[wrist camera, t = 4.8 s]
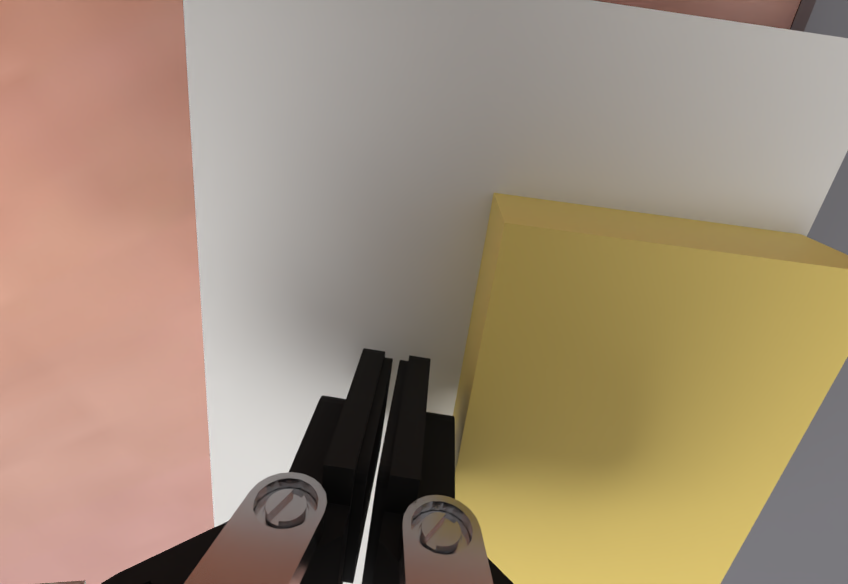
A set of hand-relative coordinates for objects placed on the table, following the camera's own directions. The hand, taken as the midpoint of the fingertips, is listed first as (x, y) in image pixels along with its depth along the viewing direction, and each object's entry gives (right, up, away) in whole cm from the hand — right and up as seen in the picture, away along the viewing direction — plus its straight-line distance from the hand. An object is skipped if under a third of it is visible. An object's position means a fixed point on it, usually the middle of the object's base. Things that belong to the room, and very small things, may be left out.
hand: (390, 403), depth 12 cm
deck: (+2, +2, +5) cm, 6 cm away
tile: (+5, 0, +1) cm, 5 cm away
